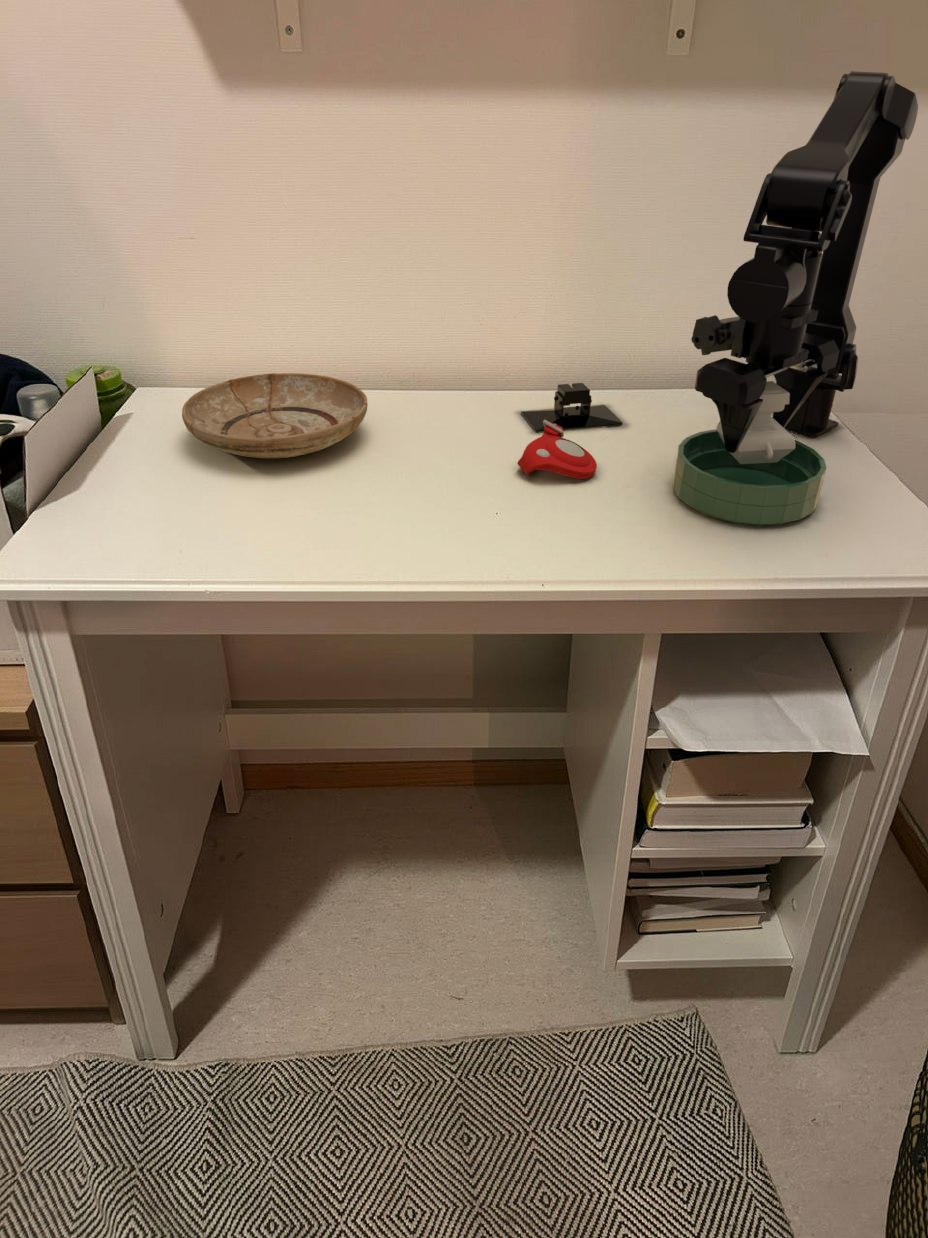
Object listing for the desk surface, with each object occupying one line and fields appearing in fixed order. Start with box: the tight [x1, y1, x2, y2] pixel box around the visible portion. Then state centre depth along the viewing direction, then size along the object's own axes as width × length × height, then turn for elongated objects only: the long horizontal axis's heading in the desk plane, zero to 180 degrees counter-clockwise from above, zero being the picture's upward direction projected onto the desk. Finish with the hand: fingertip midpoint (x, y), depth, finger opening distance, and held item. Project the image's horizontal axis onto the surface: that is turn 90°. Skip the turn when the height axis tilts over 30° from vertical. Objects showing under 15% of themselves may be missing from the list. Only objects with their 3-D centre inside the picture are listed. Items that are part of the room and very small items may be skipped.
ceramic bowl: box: [181, 372, 369, 459], centre depth 118 cm, size 23×24×5 cm
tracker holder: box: [517, 420, 598, 480], centre depth 112 cm, size 12×4×10 cm
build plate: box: [520, 382, 623, 433], centre depth 124 cm, size 12×7×5 cm, turn 104°
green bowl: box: [672, 428, 827, 527], centre depth 105 cm, size 16×16×5 cm
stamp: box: [716, 380, 796, 464], centre depth 102 cm, size 9×7×8 cm
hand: (754, 440), depth 103 cm, fingers closed on stamp, 9 cm apart
